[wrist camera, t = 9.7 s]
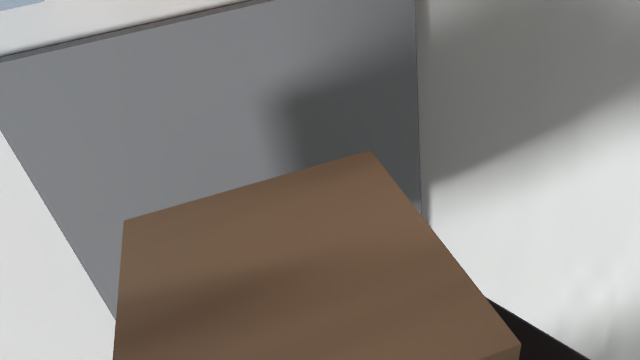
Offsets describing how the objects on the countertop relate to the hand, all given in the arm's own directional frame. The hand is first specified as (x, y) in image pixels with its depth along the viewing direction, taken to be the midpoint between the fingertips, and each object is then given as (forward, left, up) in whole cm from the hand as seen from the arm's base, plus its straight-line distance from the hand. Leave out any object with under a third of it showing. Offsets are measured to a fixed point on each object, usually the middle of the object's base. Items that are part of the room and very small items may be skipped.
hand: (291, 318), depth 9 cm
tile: (0, 0, -4) cm, 4 cm away
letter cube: (0, 0, -1) cm, 1 cm away
